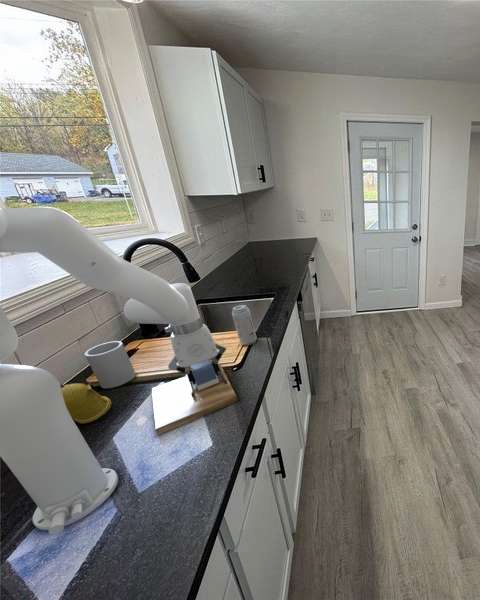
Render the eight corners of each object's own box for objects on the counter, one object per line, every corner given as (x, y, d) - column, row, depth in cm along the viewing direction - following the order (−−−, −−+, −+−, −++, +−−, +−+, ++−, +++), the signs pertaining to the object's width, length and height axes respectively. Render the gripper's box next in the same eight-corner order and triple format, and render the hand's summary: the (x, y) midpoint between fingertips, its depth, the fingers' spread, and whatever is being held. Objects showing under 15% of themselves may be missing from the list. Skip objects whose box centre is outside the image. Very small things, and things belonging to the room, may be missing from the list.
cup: (98, 381, 104) (82, 350, 99) (132, 368, 110) (119, 338, 105) (103, 392, 98) (86, 359, 93) (138, 377, 104) (124, 346, 100)
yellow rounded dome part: (103, 428, 83) (77, 382, 77) (63, 439, 80) (33, 392, 74) (119, 402, 93) (97, 359, 87) (84, 411, 90) (59, 367, 84)
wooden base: (237, 401, 90) (234, 391, 89) (158, 435, 79) (153, 424, 78) (221, 368, 106) (219, 360, 105) (153, 393, 96) (149, 384, 94)
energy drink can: (256, 344, 121) (247, 308, 115) (239, 347, 119) (229, 311, 114) (257, 337, 126) (248, 303, 121) (241, 340, 125) (231, 305, 119)
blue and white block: (219, 382, 94) (214, 368, 92) (198, 390, 91) (192, 375, 89) (212, 367, 102) (208, 353, 100) (193, 374, 99) (187, 360, 97)
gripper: (151, 341, 82) (174, 396, 89) (222, 320, 92) (238, 371, 99) (150, 331, 88) (171, 384, 95) (217, 313, 97) (232, 362, 104)
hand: (205, 377), depth 97 cm, fingers closed on blue and white block, 5 cm apart
